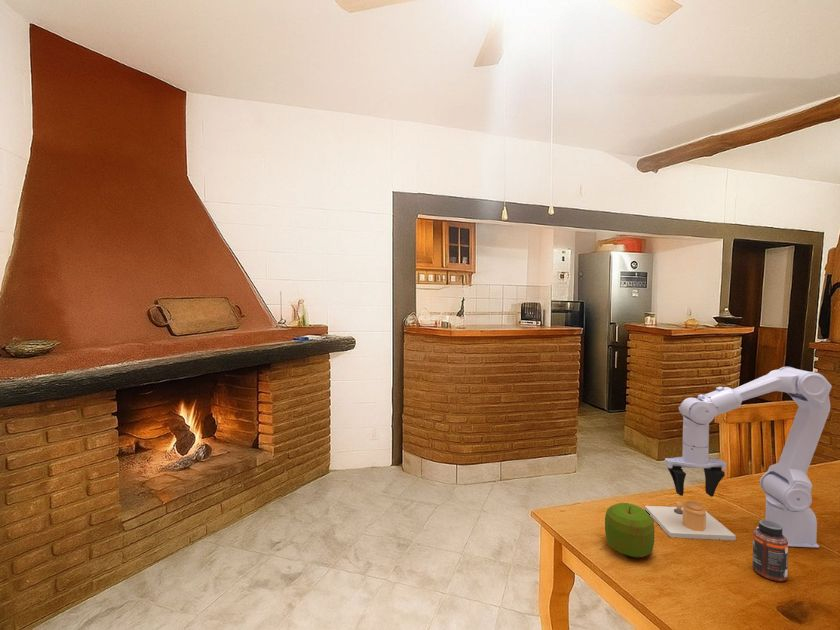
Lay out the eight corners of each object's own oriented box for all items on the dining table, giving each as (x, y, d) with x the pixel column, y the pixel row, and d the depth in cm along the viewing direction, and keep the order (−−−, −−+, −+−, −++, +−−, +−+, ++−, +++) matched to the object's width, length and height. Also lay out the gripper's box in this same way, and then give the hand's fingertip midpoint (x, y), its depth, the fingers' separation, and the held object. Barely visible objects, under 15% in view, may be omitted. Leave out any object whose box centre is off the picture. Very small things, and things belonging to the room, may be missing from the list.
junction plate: (701, 512, 117) (702, 498, 117) (735, 540, 103) (736, 524, 103) (644, 509, 118) (644, 496, 118) (670, 537, 104) (670, 522, 104)
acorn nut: (698, 521, 110) (698, 500, 110) (709, 531, 105) (709, 509, 105) (679, 520, 110) (679, 499, 110) (689, 530, 105) (689, 508, 105)
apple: (607, 532, 107) (607, 491, 107) (654, 544, 101) (654, 502, 101) (602, 554, 97) (602, 510, 97) (653, 569, 92) (654, 523, 91)
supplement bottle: (795, 582, 88) (796, 531, 87) (770, 583, 87) (771, 532, 87) (769, 564, 94) (770, 516, 93) (745, 565, 93) (746, 517, 93)
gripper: (714, 439, 110) (713, 488, 111) (659, 438, 111) (658, 486, 112) (732, 448, 103) (731, 501, 104) (673, 447, 104) (672, 499, 105)
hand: (694, 494), depth 107 cm, fingers open, 7 cm apart
